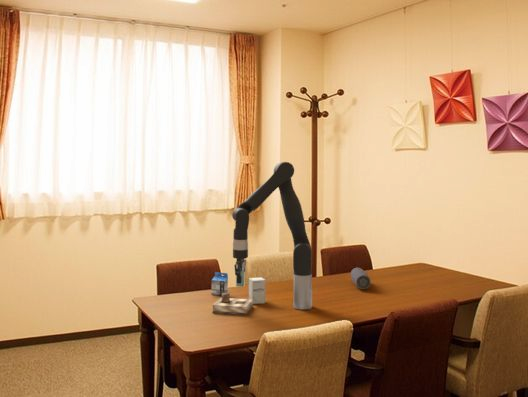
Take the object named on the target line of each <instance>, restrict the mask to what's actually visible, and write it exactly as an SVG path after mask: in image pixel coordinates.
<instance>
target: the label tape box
mask: <svg viewBox="0 0 528 397" xmlns="http://www.w3.org/2000/svg"><path fill="white" fill-rule="evenodd" d="M228 289H229V276H228V273H227V272H218V271H215V272H214V276H213V278H212V279H211V290H210V291H211V295H214V296H221V297H222V293H229V292H228V291H229V290H228Z"/></svg>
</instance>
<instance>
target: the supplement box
mask: <svg viewBox="0 0 528 397" xmlns="http://www.w3.org/2000/svg"><path fill="white" fill-rule="evenodd" d="M248 299H252V300H253V305H257V304H266V279H265V278H263V277H249V278H248Z"/></svg>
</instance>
